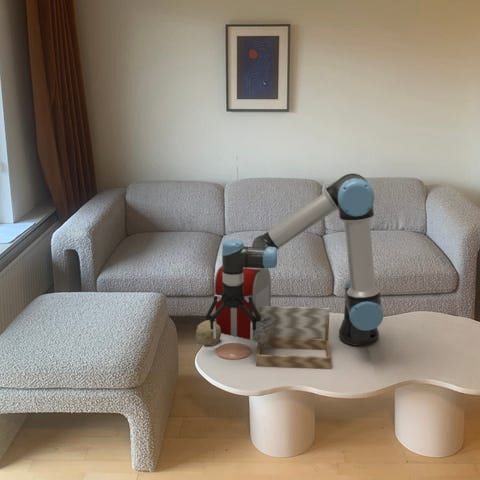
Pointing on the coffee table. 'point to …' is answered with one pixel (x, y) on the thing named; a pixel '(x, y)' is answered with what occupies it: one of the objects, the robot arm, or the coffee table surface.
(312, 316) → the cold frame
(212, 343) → the decorative object
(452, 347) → the coffee table surface
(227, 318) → the red striped box
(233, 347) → the peach round smooth part
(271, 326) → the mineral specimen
